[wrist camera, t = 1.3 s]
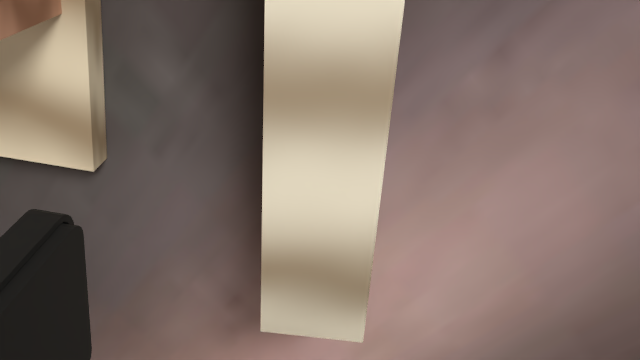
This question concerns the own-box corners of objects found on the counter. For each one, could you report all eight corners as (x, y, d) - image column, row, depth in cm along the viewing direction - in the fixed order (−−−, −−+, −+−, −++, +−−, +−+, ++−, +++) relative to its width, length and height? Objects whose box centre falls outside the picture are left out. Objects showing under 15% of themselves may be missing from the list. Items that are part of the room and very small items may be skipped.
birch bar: (365, 261, 31) (362, 342, 25) (280, 253, 31) (260, 331, 26) (425, -253, 20) (441, -299, 15) (297, -260, 21) (268, -307, 15)
